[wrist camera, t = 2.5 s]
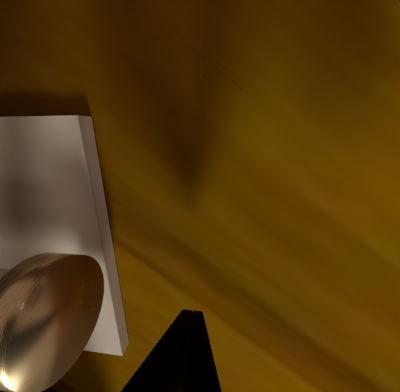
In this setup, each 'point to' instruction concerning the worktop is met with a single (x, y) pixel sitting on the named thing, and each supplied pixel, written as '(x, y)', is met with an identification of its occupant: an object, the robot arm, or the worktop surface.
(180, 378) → the robot arm
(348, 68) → the worktop surface
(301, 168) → the worktop surface
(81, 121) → the bearing block
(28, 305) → the shaft
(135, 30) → the worktop surface
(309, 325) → the worktop surface
